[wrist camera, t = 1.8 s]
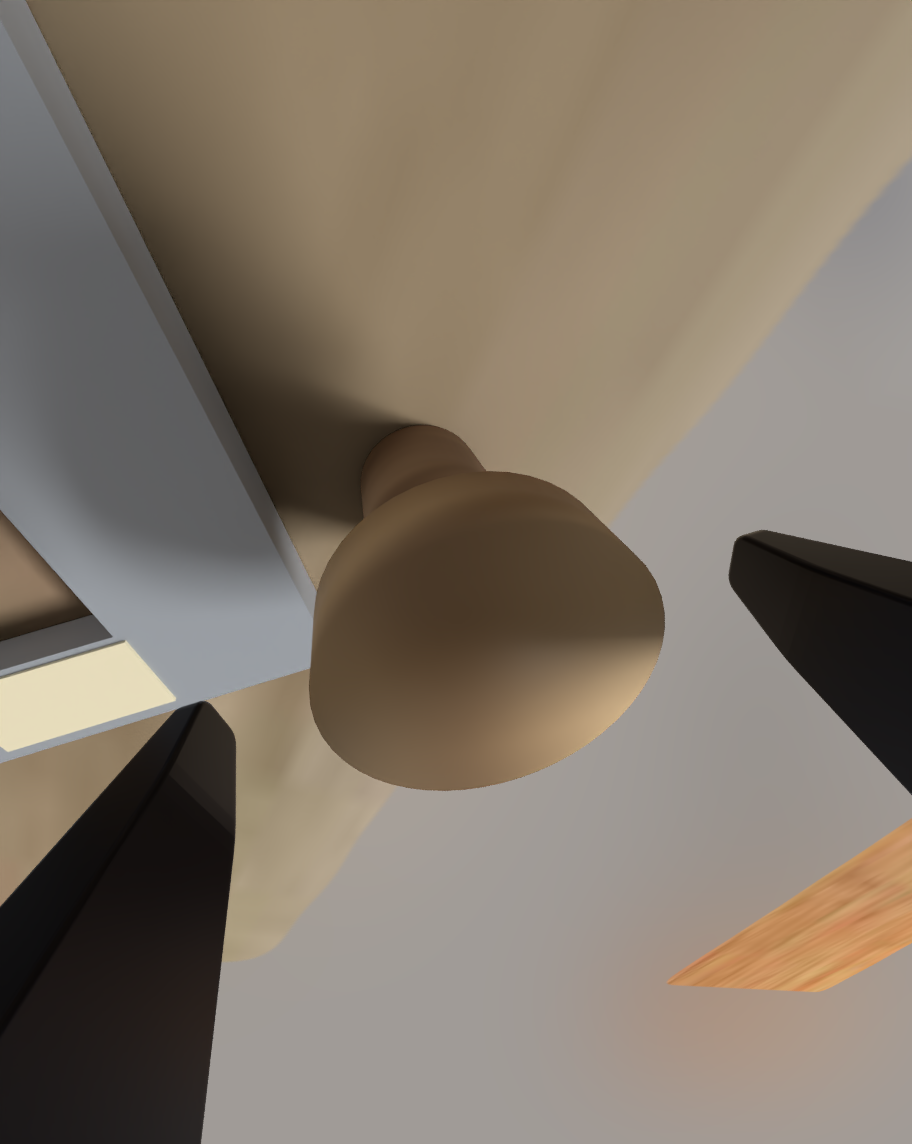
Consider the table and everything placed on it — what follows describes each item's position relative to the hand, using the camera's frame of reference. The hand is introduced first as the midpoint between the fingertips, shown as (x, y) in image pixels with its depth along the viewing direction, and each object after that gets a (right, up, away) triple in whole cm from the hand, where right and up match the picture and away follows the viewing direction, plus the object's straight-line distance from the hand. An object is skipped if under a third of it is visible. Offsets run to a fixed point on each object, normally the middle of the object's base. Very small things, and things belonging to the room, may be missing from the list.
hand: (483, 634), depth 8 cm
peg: (-1, +4, +5) cm, 7 cm away
